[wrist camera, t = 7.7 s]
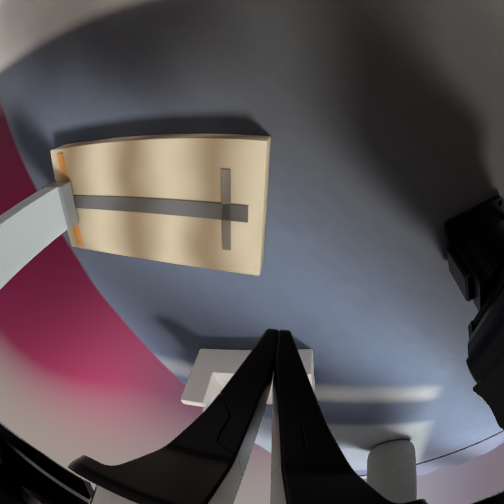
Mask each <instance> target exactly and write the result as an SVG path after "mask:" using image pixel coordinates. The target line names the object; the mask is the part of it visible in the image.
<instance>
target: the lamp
mask: <svg viewBox="0 0 504 504" xmlns="http://www.w3.org/2000/svg"><path fill="white" fill-rule="evenodd" d="M367 483H368V484H369V485H370V486H371V487H373V488H374V489H375V490H376V491H377V492H379V493H380V494H381V495H382V496H384V497H385V498H386V499H388V500H389V501H392V502H395V503H405V502H409V501H414V500H416V495H417V494H416V493H417V487H416V486H417V484H416V457H415V448H414V445H413V444H412V443H411V442H410V441H408V440H394V441H389V442H385V443H382V444H380V445H378V446H376V447H374V448H373V449H372V450H371V451H370V453H369V455H368V460H367Z"/></svg>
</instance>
